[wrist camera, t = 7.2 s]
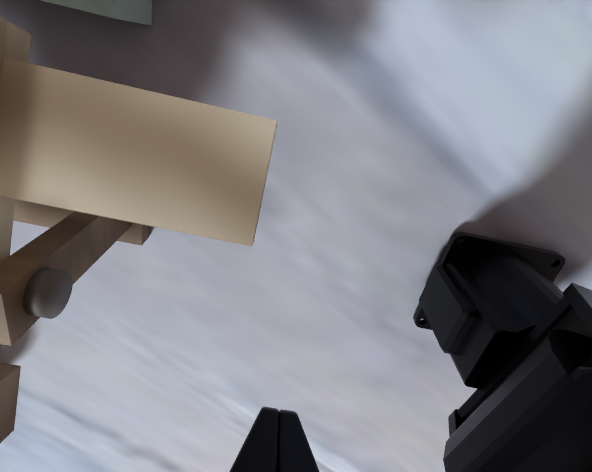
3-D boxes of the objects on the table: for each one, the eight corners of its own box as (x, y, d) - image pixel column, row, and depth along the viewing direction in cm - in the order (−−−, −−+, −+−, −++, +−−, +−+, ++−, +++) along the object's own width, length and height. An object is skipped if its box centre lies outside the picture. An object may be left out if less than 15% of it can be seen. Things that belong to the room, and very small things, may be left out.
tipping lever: (209, 468, 16) (175, 613, 11) (-151, 416, 15) (-394, 551, 9) (282, 106, 14) (285, 60, 8) (-138, 8, 12) (-449, -121, 7)
